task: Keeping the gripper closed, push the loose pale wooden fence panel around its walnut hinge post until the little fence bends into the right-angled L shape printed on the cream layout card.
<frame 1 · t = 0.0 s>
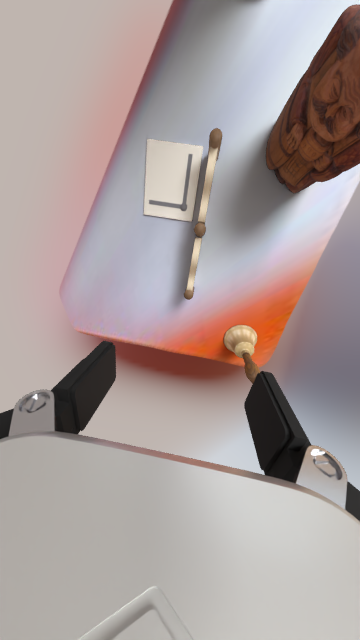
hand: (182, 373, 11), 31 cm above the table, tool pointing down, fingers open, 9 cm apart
hand bell: (239, 338, 44), on the table
fence panel: (193, 268, 35), point 3 cm above the table, hinge at 0.0°
wooden figurine: (289, 159, 29), on the table
layout card: (171, 183, 32), on the table
fence fixed: (200, 231, 35), on the table
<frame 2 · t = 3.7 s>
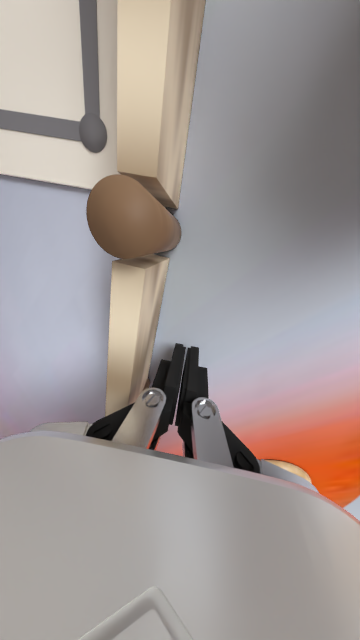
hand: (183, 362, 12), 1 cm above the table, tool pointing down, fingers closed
fence panel: (133, 359, 10), point 3 cm above the table, hinge at -3.3°, touching gripper
layout card: (26, 17, 7), on the table
fence fixed: (164, 232, 10), on the table
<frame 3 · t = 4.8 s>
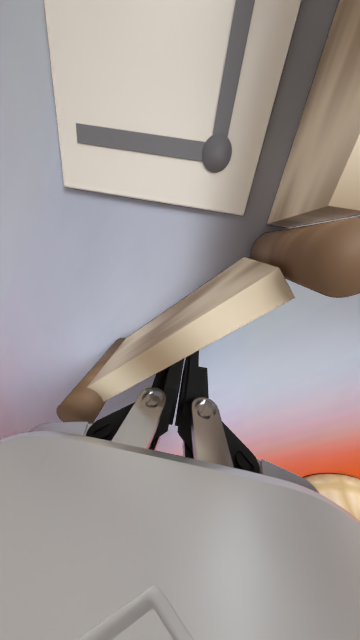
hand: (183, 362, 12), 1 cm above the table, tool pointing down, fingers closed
hand bell: (325, 490, 19), on the table
fence panel: (164, 337, 9), point 3 cm above the table, hinge at -44.1°, touching gripper
layout card: (165, 37, 7), on the table
fence fixed: (268, 251, 10), on the table
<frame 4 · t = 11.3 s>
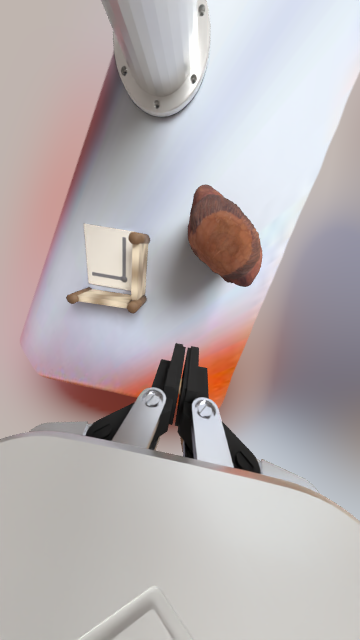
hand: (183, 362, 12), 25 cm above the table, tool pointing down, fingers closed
fence panel: (103, 298, 35), point 3 cm above the table, hinge at -88.3°
wooden figurine: (213, 244, 32), on the table
layout card: (110, 259, 35), on the table
fence fixed: (142, 298, 38), on the table
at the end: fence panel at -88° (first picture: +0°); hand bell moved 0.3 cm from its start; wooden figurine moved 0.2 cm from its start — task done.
